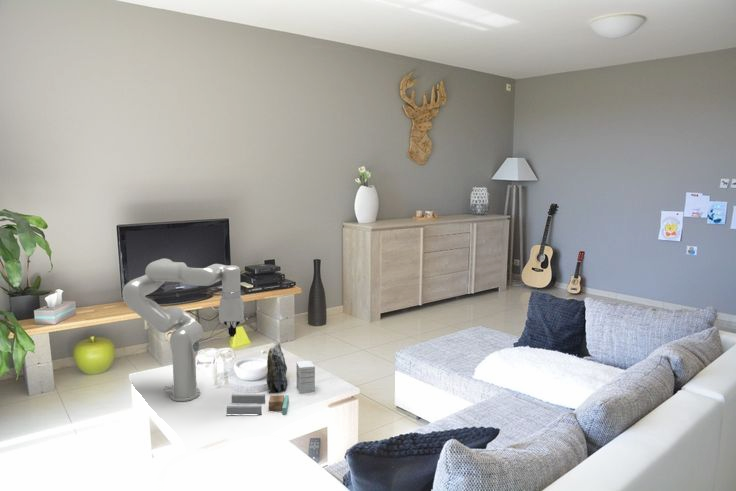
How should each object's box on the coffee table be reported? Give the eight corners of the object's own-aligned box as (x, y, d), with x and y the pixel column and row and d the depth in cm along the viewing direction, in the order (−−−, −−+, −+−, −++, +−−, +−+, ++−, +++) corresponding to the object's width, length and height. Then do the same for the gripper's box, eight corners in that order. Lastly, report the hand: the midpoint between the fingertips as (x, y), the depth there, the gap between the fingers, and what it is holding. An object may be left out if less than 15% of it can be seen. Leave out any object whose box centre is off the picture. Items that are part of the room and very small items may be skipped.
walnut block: (268, 411, 217) (268, 401, 217) (270, 405, 223) (270, 395, 223) (283, 411, 218) (283, 401, 217) (284, 405, 224) (284, 395, 223)
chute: (226, 415, 213) (226, 407, 213) (232, 402, 225) (232, 394, 224) (261, 415, 214) (261, 407, 214) (264, 401, 226) (264, 394, 225)
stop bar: (282, 414, 215) (282, 408, 214) (285, 401, 226) (285, 395, 226) (286, 414, 215) (285, 408, 214) (288, 401, 227) (288, 395, 226)
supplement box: (296, 387, 241) (296, 361, 239) (311, 385, 243) (311, 360, 241) (299, 394, 234) (299, 367, 232) (315, 392, 237) (315, 365, 235)
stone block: (285, 393, 234) (285, 351, 231) (265, 393, 234) (265, 351, 231) (289, 377, 252) (289, 338, 249) (271, 377, 252) (271, 338, 249)
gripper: (211, 296, 216) (212, 338, 219) (247, 296, 217) (248, 338, 220) (215, 292, 224) (216, 333, 227) (250, 292, 225) (251, 333, 228)
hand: (232, 335), depth 223 cm, fingers closed
